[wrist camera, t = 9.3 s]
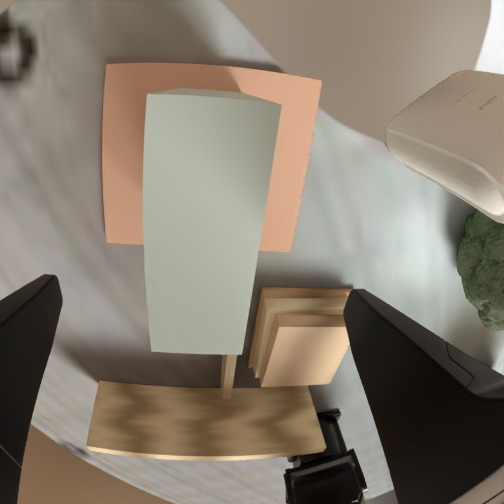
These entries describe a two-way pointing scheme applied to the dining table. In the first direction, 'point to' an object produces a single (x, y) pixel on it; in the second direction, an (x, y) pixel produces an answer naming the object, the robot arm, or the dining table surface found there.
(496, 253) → the vegetable
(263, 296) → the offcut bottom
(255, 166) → the tall pale grey block
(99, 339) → the dining table surface
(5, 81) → the dining table surface
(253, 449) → the rack
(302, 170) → the mat
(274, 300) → the offcut middle
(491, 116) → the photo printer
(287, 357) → the offcut top
